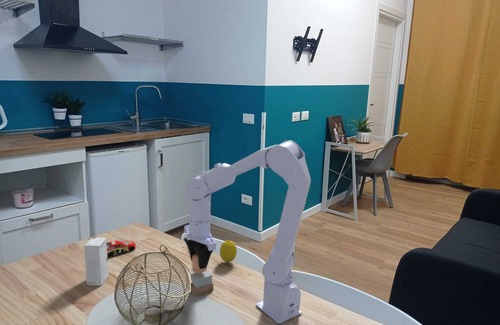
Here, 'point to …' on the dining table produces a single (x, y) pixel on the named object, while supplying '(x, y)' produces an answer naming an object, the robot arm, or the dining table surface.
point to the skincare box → (96, 261)
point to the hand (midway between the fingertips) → (199, 264)
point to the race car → (119, 247)
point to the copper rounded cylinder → (196, 265)
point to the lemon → (228, 251)
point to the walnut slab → (201, 289)
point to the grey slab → (201, 278)
